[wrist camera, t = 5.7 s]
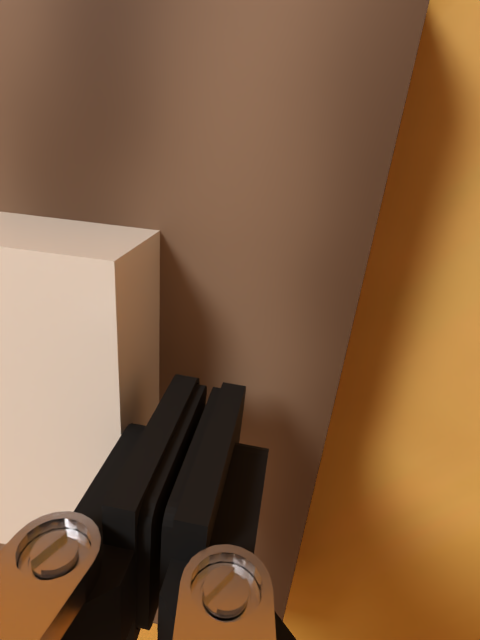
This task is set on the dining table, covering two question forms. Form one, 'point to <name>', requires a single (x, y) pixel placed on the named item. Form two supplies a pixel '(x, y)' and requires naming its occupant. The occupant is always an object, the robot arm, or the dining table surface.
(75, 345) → the tile
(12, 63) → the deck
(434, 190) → the dining table surface
